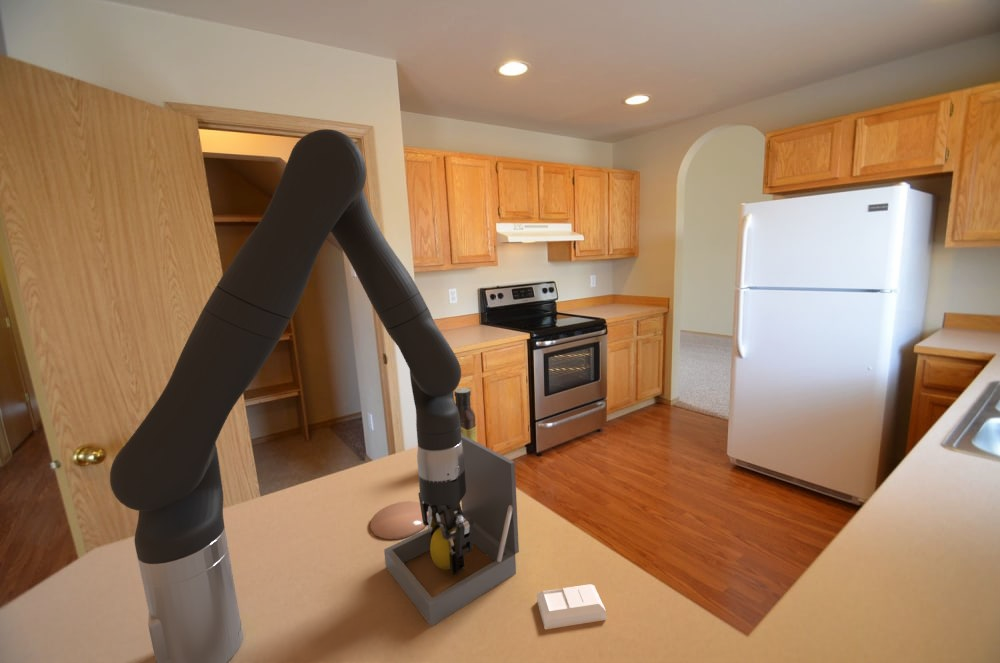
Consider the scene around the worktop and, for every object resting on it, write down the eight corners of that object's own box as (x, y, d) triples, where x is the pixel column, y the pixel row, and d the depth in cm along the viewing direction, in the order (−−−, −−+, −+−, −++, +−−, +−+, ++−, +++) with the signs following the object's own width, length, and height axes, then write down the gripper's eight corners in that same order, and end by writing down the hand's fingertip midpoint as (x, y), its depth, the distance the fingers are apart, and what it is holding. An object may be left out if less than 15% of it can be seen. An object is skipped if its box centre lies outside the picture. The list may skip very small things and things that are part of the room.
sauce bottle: (450, 460, 112) (445, 388, 109) (472, 455, 115) (468, 384, 111) (459, 470, 106) (453, 395, 103) (481, 465, 109) (477, 390, 106)
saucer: (385, 548, 78) (384, 545, 78) (361, 519, 88) (361, 516, 88) (441, 521, 85) (441, 518, 85) (414, 497, 95) (414, 495, 95)
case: (431, 627, 61) (420, 502, 58) (385, 567, 73) (375, 462, 70) (519, 570, 71) (514, 462, 68) (466, 527, 83) (460, 433, 80)
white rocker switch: (606, 622, 61) (606, 606, 60) (544, 631, 59) (544, 615, 59) (594, 595, 65) (594, 580, 65) (537, 604, 64) (536, 588, 64)
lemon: (426, 577, 70) (422, 533, 69) (440, 555, 75) (437, 514, 74) (457, 583, 68) (454, 538, 67) (469, 560, 73) (466, 518, 72)
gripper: (400, 460, 72) (408, 549, 75) (444, 493, 61) (451, 597, 63) (439, 447, 77) (445, 532, 79) (486, 476, 65) (491, 573, 68)
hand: (447, 560), depth 71 cm, fingers closed on lemon, 5 cm apart
